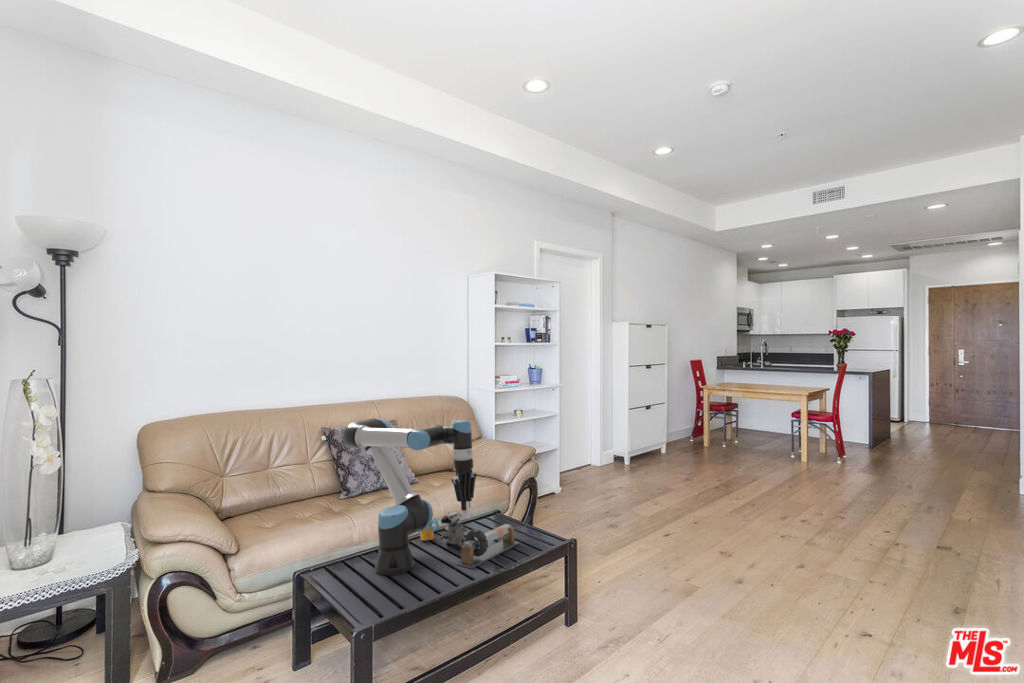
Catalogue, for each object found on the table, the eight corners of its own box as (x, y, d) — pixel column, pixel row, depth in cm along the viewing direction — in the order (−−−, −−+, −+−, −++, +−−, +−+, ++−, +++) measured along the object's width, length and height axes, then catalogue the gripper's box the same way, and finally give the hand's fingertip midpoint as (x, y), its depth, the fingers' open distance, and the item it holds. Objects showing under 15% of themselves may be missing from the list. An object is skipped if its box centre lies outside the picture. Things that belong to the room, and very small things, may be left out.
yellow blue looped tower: (409, 543, 237) (408, 509, 238) (420, 535, 247) (419, 503, 248) (434, 544, 233) (432, 510, 234) (443, 536, 243) (442, 504, 244)
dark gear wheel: (484, 558, 208) (483, 533, 209) (465, 553, 214) (464, 529, 215) (488, 556, 210) (487, 531, 211) (469, 552, 216) (468, 527, 217)
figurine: (436, 549, 227) (434, 515, 228) (455, 542, 235) (454, 508, 236) (449, 553, 221) (448, 518, 221) (469, 546, 229) (467, 511, 230)
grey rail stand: (472, 568, 203) (471, 546, 204) (456, 564, 208) (456, 543, 208) (518, 543, 229) (517, 524, 230) (504, 540, 234) (503, 521, 234)
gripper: (459, 462, 202) (462, 523, 201) (480, 456, 212) (483, 514, 211) (445, 461, 206) (448, 520, 205) (467, 455, 217) (469, 512, 215)
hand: (466, 517), depth 208 cm, fingers closed
